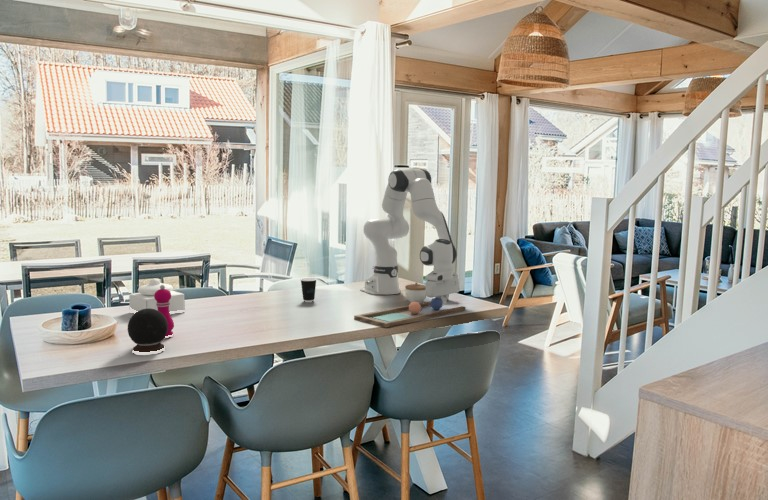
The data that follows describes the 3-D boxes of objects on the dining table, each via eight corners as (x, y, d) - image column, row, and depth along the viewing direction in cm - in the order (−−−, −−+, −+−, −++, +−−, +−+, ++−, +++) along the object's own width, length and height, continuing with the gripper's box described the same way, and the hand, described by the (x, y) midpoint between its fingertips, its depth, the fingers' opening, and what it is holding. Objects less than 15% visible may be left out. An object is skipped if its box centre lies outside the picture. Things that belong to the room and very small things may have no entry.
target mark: (372, 317, 273) (372, 317, 273) (395, 313, 282) (395, 312, 282) (394, 323, 262) (394, 322, 262) (418, 318, 272) (418, 317, 272)
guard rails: (354, 319, 270) (354, 315, 270) (433, 303, 303) (433, 300, 303) (385, 327, 255) (385, 323, 255) (465, 310, 288) (465, 306, 288)
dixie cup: (306, 299, 314) (306, 277, 313) (320, 300, 311) (319, 278, 309) (297, 302, 307) (297, 279, 306) (311, 303, 303) (310, 280, 302)
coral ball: (406, 313, 281) (406, 301, 280) (414, 312, 284) (414, 300, 284) (414, 315, 276) (414, 303, 276) (423, 314, 280) (423, 301, 280)
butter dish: (167, 307, 295) (165, 273, 293) (185, 313, 283) (184, 278, 281) (129, 313, 283) (128, 278, 281) (147, 319, 270) (145, 282, 268)
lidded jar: (431, 301, 308) (432, 282, 307) (417, 305, 300) (417, 285, 299) (415, 298, 315) (415, 280, 314) (400, 302, 307) (400, 282, 306)
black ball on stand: (140, 358, 212) (138, 314, 210) (121, 351, 220) (119, 309, 219) (176, 350, 221) (174, 308, 220) (157, 344, 230) (155, 303, 228)
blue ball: (428, 310, 290) (426, 299, 289) (436, 306, 293) (435, 295, 292) (436, 312, 286) (435, 301, 284) (445, 308, 289) (443, 297, 288)
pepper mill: (157, 335, 243) (155, 283, 241) (176, 334, 244) (174, 283, 242) (152, 339, 236) (149, 286, 234) (171, 339, 237) (169, 286, 234)
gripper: (452, 271, 299) (452, 300, 301) (423, 276, 285) (423, 306, 287) (462, 273, 295) (462, 302, 297) (433, 278, 281) (433, 308, 282)
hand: (442, 304), depth 292 cm, fingers closed
